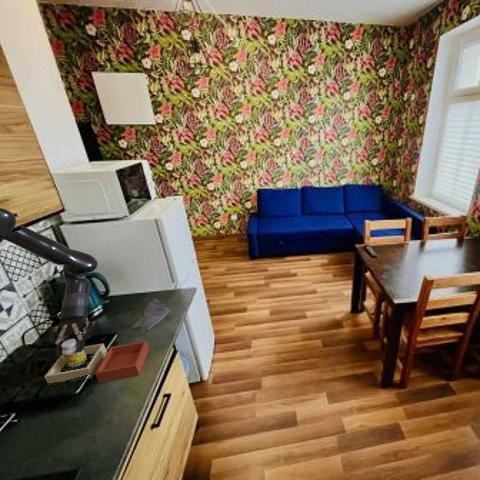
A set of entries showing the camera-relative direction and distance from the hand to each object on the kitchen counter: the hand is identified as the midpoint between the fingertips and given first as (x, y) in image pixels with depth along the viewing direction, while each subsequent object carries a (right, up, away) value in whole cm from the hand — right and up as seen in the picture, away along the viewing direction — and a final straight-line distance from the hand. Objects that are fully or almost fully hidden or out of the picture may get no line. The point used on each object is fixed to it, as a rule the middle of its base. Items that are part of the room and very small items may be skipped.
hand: (69, 353), depth 95 cm
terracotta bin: (+16, -7, +6) cm, 18 cm away
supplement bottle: (-1, -5, +4) cm, 7 cm away
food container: (-17, 0, +25) cm, 30 cm away
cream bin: (-1, -8, +5) cm, 9 cm away
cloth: (+9, +4, +34) cm, 36 cm away
